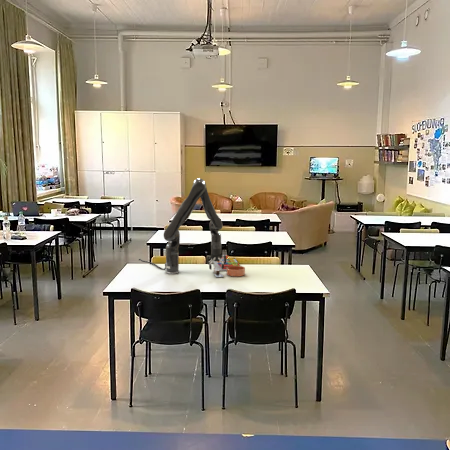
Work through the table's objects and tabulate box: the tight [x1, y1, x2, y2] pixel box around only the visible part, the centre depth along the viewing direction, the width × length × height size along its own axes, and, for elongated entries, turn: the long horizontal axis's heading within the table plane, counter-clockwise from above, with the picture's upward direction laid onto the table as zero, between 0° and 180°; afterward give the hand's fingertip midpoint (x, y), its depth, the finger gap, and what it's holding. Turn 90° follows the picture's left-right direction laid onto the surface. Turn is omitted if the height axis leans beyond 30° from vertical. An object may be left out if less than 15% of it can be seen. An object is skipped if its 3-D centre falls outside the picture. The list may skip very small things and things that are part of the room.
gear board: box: [212, 255, 241, 272], centre depth 358 cm, size 45×2×19 cm
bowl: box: [226, 265, 246, 278], centre depth 325 cm, size 13×13×5 cm
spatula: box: [213, 267, 225, 279], centre depth 324 cm, size 17×5×3 cm, turn 13°
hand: (216, 269), depth 328 cm, fingers open, 8 cm apart
